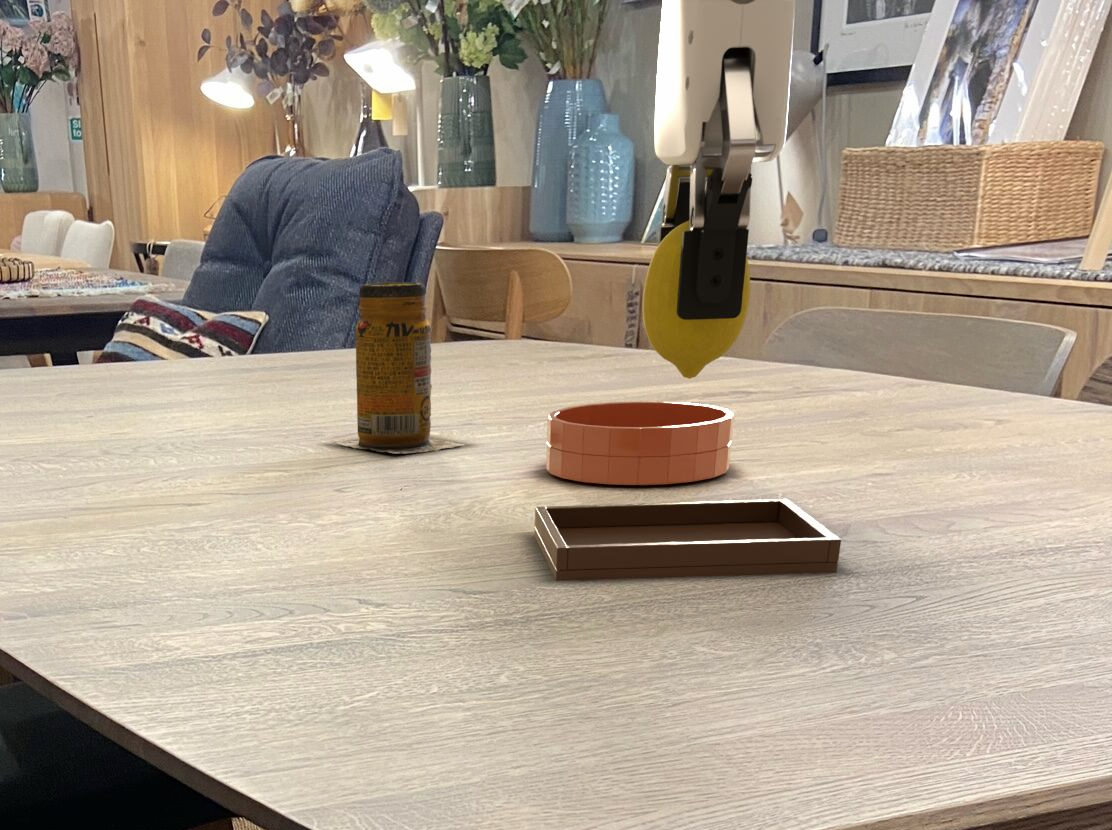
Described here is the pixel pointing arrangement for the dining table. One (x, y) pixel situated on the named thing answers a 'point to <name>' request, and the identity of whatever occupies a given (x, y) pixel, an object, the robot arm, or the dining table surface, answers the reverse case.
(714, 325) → the lemon
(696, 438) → the bowl
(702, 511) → the tray
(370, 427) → the condiment
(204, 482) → the dining table surface
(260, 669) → the dining table surface
